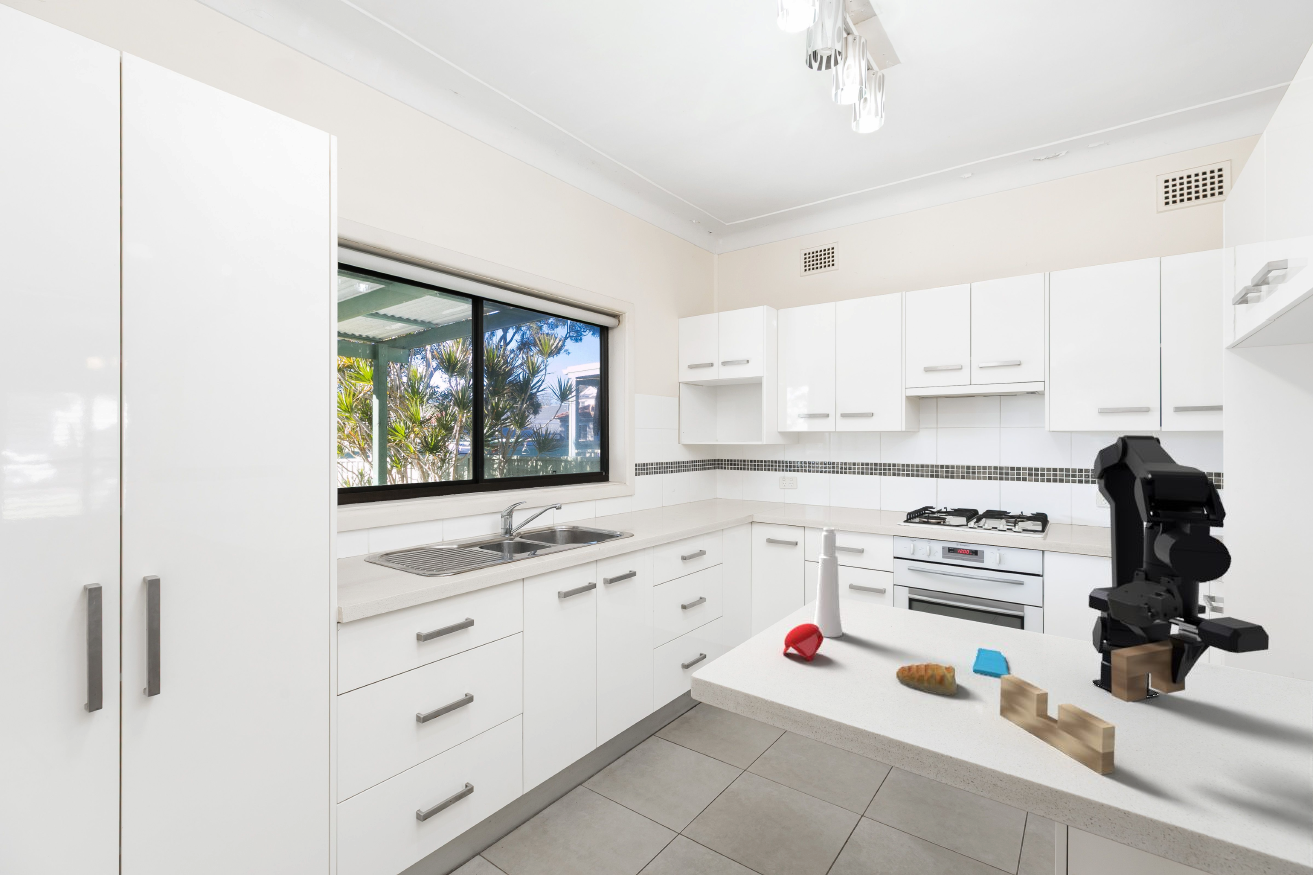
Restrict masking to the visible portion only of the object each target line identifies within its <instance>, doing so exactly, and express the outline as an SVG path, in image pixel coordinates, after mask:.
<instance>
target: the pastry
mask: <svg viewBox="0 0 1313 875" xmlns="http://www.w3.org/2000/svg"><path fill="white" fill-rule="evenodd" d="M895 675H896V676H895V677H896V679H897V680H898V681H899V682H900V683H901V684H903V685H905V686H908V687H910V688H911V687H912V688H914V689H918V691H919V690H920V691H922V692H929V693H934V694H939V695H944V696H955V695H956V694H957V688H958V687H957V680H956V670H955V667H954V666H951V665H948V666H944V665H942V664H938V663H932V662H927V663H919V664H910V665H905V666H904V665H903V666H901V667H899V668H898V669H897V671H896V674H895Z"/></svg>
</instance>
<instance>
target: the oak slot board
mask: <svg viewBox="0 0 1313 875" xmlns="http://www.w3.org/2000/svg"><path fill="white" fill-rule="evenodd" d="M999 697H1000V701H999V715H1000V716H1002V717H1003V718H1005V719H1006V720H1008V721H1009V722H1012V723H1013V724H1015V725H1017V726H1018V727H1020V728H1021V729H1024V730H1025V731H1027V732H1028V733H1030V734H1032V735H1034V736H1035V737H1037V738H1038V739H1040V740H1042V741H1044V742H1045V743H1047V744H1049V745H1051V746H1052V747H1054V748H1056V750H1058V751H1060V752H1062V753H1064V754H1065V755H1067V756H1069V757H1071V758H1072V759H1074V760H1075V761H1078V762H1079V763H1080V764H1083V765H1084V766H1086V767H1087V768H1089V769H1091V770H1093V771H1094V772H1096V773H1098V774H1099V775H1100V776H1101V775H1102V776H1103V775H1109V774H1112V773H1115V772H1114V771H1115V740H1116V726H1115V725H1114V724H1112V723H1110V722H1109V721H1106V720H1104V719H1103V718H1100V717H1098V716H1096V715H1094V714H1092V713H1090V712H1089V711H1086V710H1084V709H1082V708H1080V707H1078V706H1076V705H1075V704H1072V703H1070V702H1069V703H1064V704H1063V703H1062V704H1058V705H1057V719H1056V718H1055V717H1052V716H1051V715H1049V714H1048V710H1049V709H1048V705H1049V704H1048V702H1049V699H1048V698H1049V692H1048V691H1046V690H1044V689H1042V688H1040V687H1038V686H1036V685H1034V684H1032V683H1030V682H1028V681H1027V680H1025V679H1022V678H1020V677H1018V676H1016V675H1014V674H1010V673H1009V675H1001V678H1000V696H999Z"/></svg>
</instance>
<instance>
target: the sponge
mask: <svg viewBox="0 0 1313 875" xmlns="http://www.w3.org/2000/svg"><path fill="white" fill-rule="evenodd" d="M976 655H977V656H976ZM976 655H975V656H976V657H975V660H974V663H973V665H972V673H973V672H974V674H977V673H980V674H979V675H982V674H984V675H983V676H987V675H989V676H988V677H992V676H994V677H993V678H997V677H998V679H1001V675H1010V672H1009V666H1008V664H1007V657H1005V655H1004V654H1002V652H1001V651H999V650H993V649H988V648H987V649H986V648H983V647H978V649H977V653H976Z"/></svg>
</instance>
